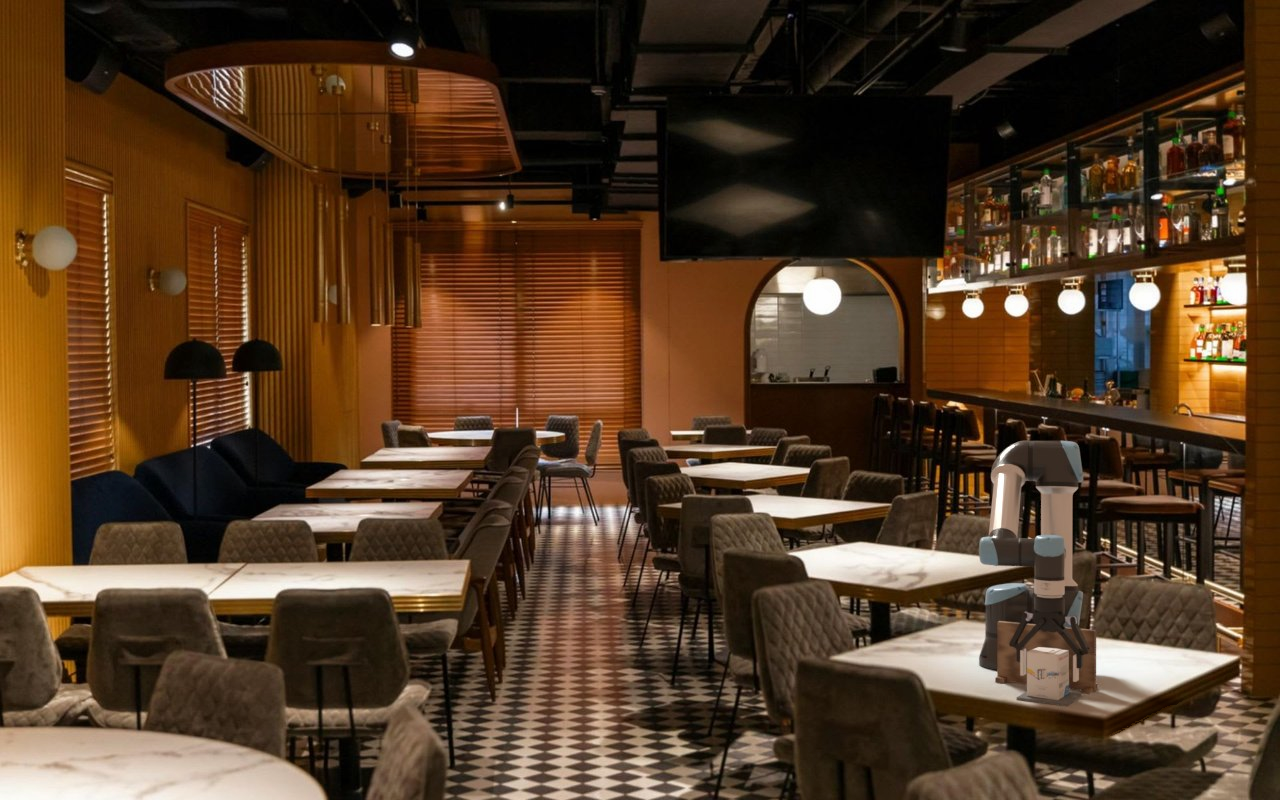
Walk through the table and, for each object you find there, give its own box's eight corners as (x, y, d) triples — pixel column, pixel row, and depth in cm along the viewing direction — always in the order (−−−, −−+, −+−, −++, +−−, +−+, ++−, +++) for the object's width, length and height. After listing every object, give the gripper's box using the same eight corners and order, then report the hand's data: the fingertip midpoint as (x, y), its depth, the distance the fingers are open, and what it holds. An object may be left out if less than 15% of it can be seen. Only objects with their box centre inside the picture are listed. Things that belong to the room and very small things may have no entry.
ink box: (1038, 690, 362) (1038, 645, 362) (1069, 694, 357) (1069, 649, 357) (1025, 696, 355) (1025, 651, 355) (1058, 700, 350) (1058, 654, 350)
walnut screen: (994, 682, 374) (994, 623, 374) (1002, 677, 380) (1002, 619, 380) (1091, 693, 360) (1091, 632, 360) (1098, 688, 366) (1098, 628, 366)
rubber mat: (1016, 699, 354) (1016, 697, 354) (1031, 689, 365) (1031, 687, 365) (1067, 706, 347) (1067, 703, 347) (1081, 695, 358) (1081, 693, 358)
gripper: (997, 593, 359) (997, 674, 359) (1094, 601, 345) (1094, 686, 346) (1006, 589, 365) (1006, 669, 366) (1102, 597, 352) (1102, 680, 352)
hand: (1049, 677), depth 356 cm, fingers open, 13 cm apart
